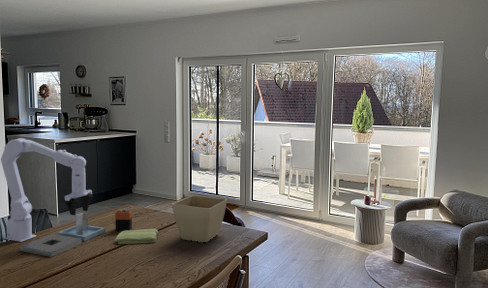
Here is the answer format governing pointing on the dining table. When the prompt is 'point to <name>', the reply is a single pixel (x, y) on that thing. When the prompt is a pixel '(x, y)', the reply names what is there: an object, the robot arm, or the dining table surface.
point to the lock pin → (82, 223)
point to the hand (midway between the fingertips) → (79, 212)
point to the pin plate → (45, 247)
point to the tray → (91, 233)
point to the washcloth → (137, 236)
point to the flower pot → (199, 217)
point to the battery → (123, 220)
